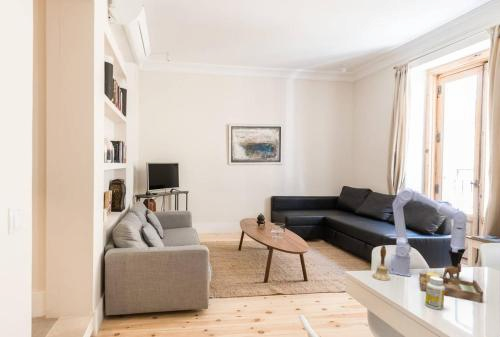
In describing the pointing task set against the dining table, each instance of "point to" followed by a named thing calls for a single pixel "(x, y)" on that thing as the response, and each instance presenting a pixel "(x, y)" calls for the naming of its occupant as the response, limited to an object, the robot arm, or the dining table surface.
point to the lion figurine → (452, 271)
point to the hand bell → (382, 268)
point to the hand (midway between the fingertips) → (455, 264)
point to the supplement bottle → (435, 293)
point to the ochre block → (430, 276)
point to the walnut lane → (457, 288)
